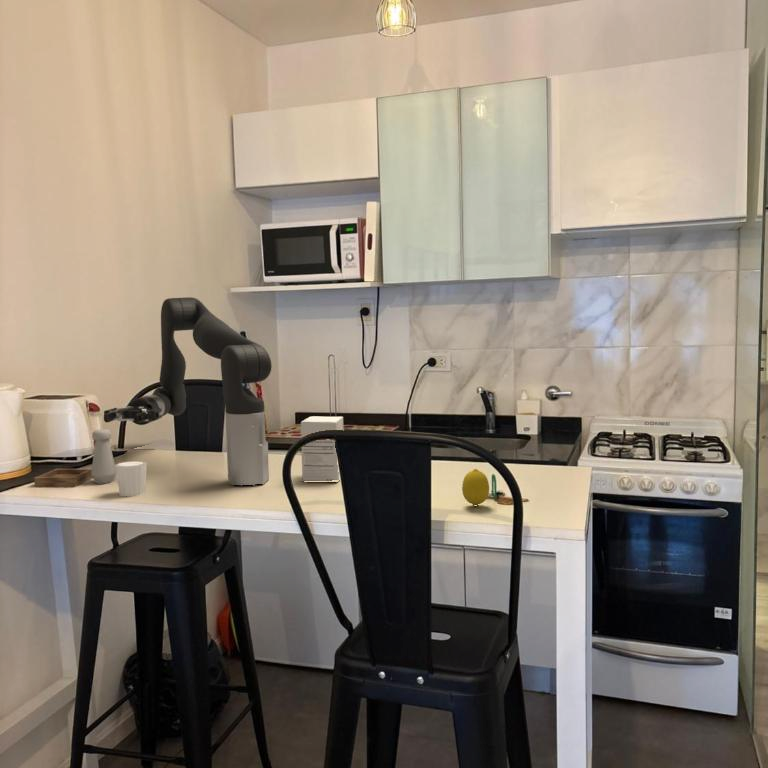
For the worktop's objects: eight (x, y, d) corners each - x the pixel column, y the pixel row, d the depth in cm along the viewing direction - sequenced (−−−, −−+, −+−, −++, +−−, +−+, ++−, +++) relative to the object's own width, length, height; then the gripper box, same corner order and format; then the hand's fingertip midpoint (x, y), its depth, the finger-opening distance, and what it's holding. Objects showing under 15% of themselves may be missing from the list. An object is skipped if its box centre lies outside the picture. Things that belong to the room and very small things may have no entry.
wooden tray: (94, 477, 185) (93, 468, 185) (74, 486, 175) (74, 477, 175) (56, 477, 186) (56, 468, 186) (34, 486, 176) (34, 477, 176)
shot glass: (138, 497, 164) (137, 466, 163) (110, 496, 165) (108, 466, 164) (153, 490, 170) (152, 460, 170) (126, 489, 172) (125, 460, 171)
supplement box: (310, 474, 184) (309, 415, 183) (345, 475, 183) (344, 416, 181) (301, 482, 175) (299, 421, 174) (337, 483, 174) (336, 421, 172)
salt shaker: (108, 485, 176) (105, 432, 175) (86, 484, 177) (83, 431, 176) (121, 479, 182) (118, 428, 181) (100, 478, 183) (97, 427, 182)
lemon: (487, 503, 154) (487, 466, 153) (490, 510, 148) (490, 471, 148) (461, 503, 154) (461, 466, 153) (463, 510, 149) (463, 472, 148)
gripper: (121, 396, 206) (94, 404, 190) (170, 396, 205) (147, 404, 189) (123, 422, 207) (96, 432, 191) (171, 422, 206) (148, 433, 190)
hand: (121, 418), depth 190 cm, fingers open, 8 cm apart
